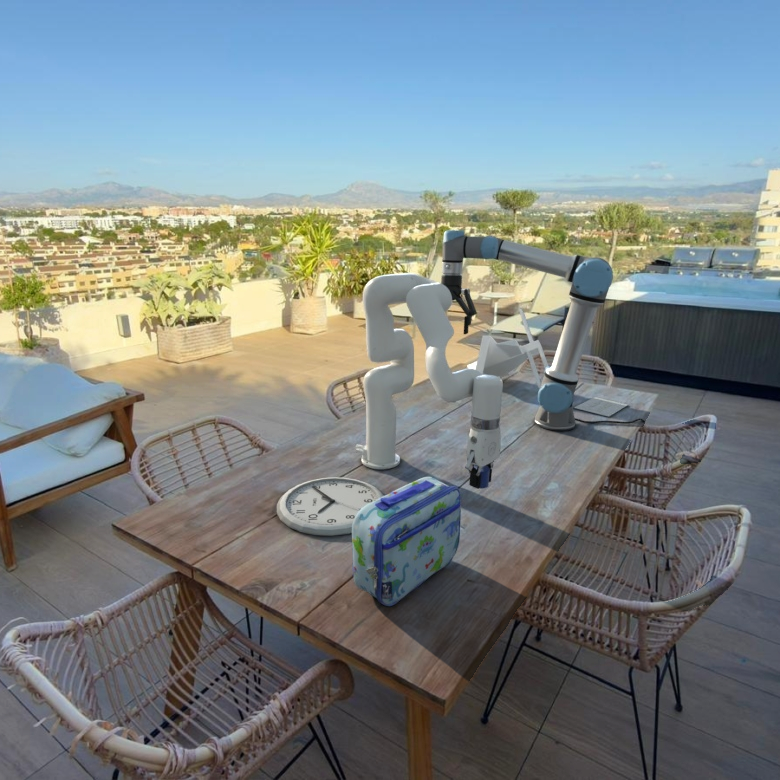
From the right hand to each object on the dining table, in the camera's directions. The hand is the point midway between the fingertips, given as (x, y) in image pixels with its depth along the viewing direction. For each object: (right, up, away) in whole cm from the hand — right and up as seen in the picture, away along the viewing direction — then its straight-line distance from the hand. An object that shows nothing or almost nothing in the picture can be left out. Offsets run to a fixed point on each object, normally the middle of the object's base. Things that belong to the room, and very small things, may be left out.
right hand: (448, 331), depth 197 cm
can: (+3, -48, -53) cm, 72 cm away
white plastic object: (+34, -20, +56) cm, 69 cm away
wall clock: (-38, -54, -54) cm, 85 cm away
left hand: (+3, -48, -53) cm, 71 cm away
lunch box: (-18, -63, -83) cm, 106 cm away
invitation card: (+69, -29, +29) cm, 81 cm away
